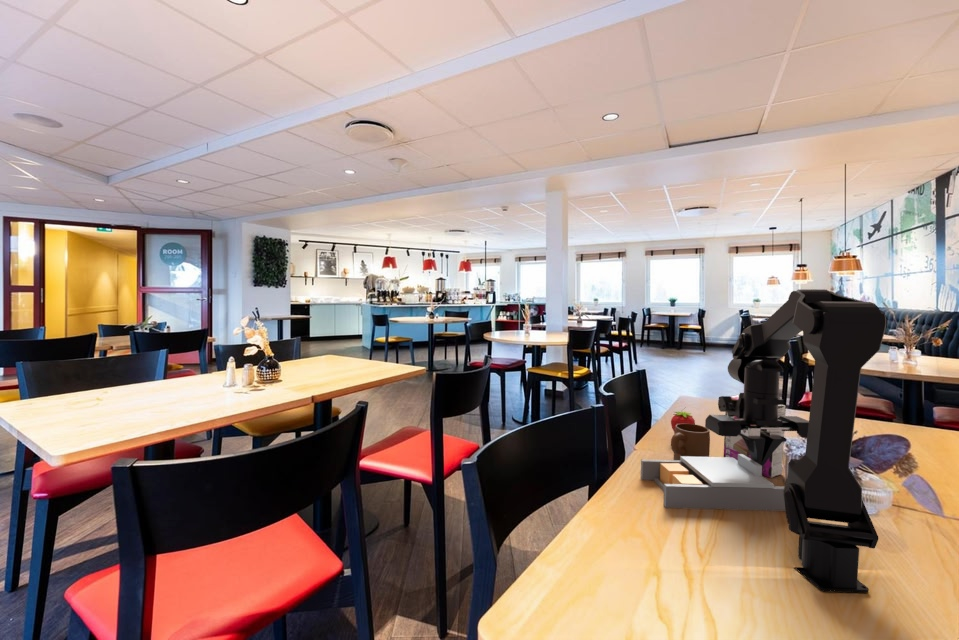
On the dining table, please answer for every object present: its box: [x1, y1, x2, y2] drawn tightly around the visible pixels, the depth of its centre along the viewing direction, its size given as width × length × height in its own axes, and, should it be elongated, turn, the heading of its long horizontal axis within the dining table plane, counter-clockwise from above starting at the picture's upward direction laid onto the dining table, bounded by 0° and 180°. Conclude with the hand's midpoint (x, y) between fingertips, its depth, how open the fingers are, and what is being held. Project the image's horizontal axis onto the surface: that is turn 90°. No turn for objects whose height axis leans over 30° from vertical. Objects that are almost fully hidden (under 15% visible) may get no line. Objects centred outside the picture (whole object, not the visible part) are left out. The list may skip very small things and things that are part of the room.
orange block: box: [672, 474, 704, 485], centre depth 79 cm, size 4×4×4 cm
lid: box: [680, 454, 775, 488], centre depth 82 cm, size 13×11×3 cm
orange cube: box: [660, 463, 689, 484], centre depth 85 cm, size 4×4×4 cm
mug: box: [670, 423, 711, 460], centre depth 96 cm, size 12×8×9 cm, turn 124°
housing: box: [640, 459, 786, 512], centre depth 82 cm, size 13×24×5 cm, turn 88°
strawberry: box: [670, 407, 696, 433], centre depth 115 cm, size 6×8×10 cm
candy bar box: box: [723, 394, 786, 479], centre depth 97 cm, size 11×5×16 cm, turn 27°
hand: (757, 468), depth 82 cm, fingers closed
